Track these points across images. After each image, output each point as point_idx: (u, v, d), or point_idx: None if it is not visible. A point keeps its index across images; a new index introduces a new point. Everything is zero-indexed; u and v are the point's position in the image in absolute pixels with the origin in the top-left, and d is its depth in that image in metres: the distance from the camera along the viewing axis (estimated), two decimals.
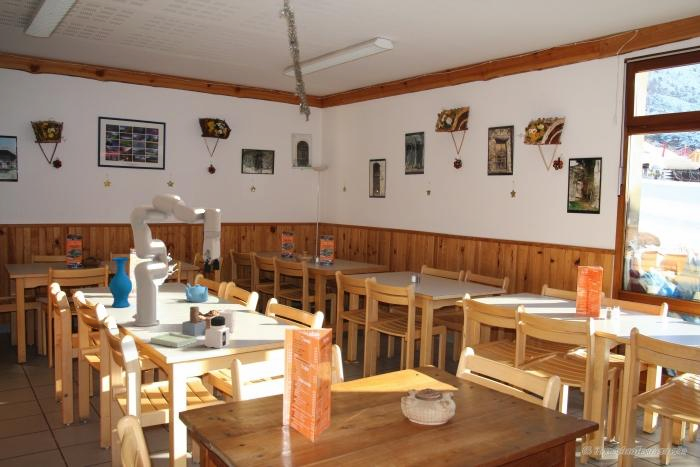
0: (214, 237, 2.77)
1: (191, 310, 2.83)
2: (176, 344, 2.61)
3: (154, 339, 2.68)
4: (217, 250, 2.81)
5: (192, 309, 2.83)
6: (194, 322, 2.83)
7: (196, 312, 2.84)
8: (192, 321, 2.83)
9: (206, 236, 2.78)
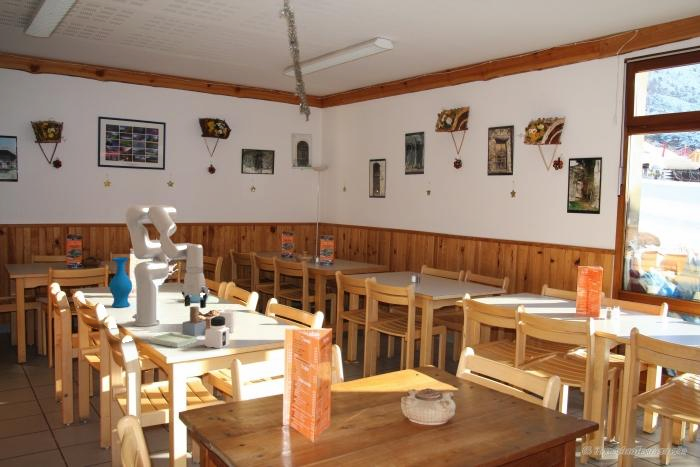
0: (202, 272, 2.84)
1: (191, 310, 2.83)
2: (176, 344, 2.61)
3: (154, 339, 2.68)
4: None
5: (192, 309, 2.83)
6: (194, 322, 2.83)
7: (196, 312, 2.84)
8: (192, 321, 2.83)
9: (198, 272, 2.81)
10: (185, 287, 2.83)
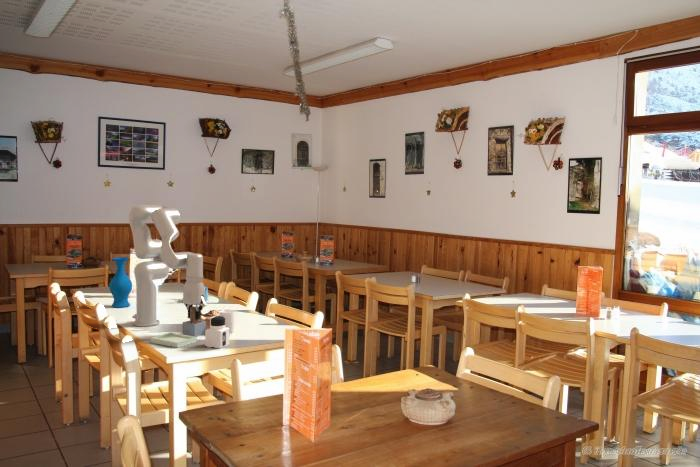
0: (202, 281, 2.85)
1: (191, 310, 2.83)
2: (176, 344, 2.61)
3: (154, 339, 2.68)
4: None
5: (192, 309, 2.83)
6: (194, 322, 2.83)
7: None
8: (192, 321, 2.83)
9: (198, 282, 2.81)
10: (185, 296, 2.84)
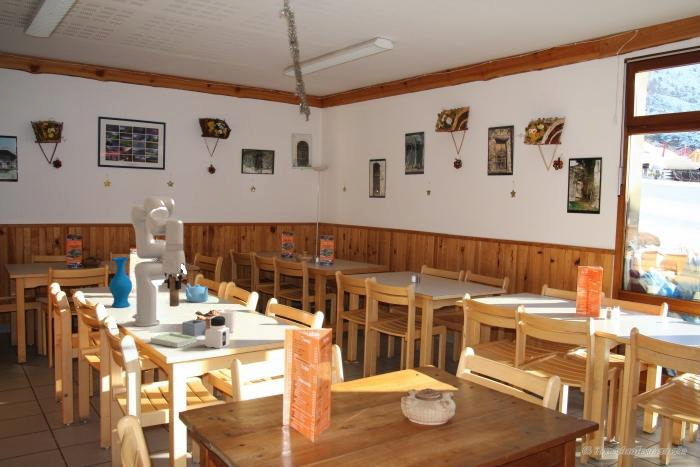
0: None
1: (171, 280, 2.67)
2: (176, 344, 2.61)
3: (154, 339, 2.68)
4: None
5: (172, 278, 2.67)
6: (174, 292, 2.67)
7: None
8: (172, 291, 2.67)
9: (177, 249, 2.65)
10: (164, 265, 2.67)
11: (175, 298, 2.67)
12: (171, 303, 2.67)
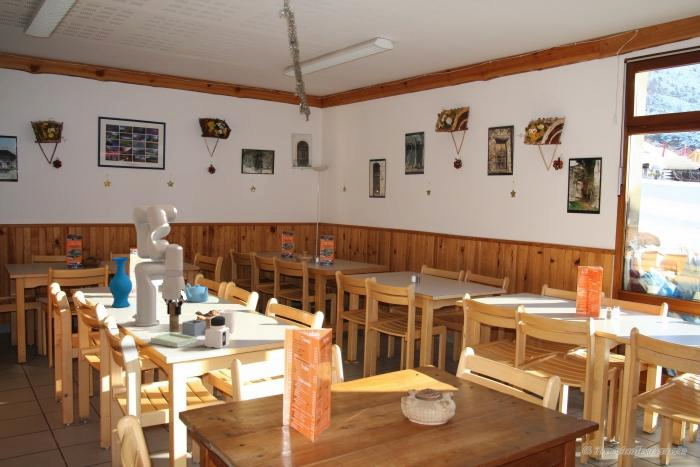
0: (182, 275, 2.69)
1: (170, 305, 2.67)
2: (176, 344, 2.61)
3: (154, 339, 2.68)
4: None
5: (172, 304, 2.67)
6: (174, 318, 2.68)
7: None
8: (172, 317, 2.67)
9: (177, 275, 2.65)
10: (164, 291, 2.68)
11: (175, 323, 2.68)
12: (171, 329, 2.68)
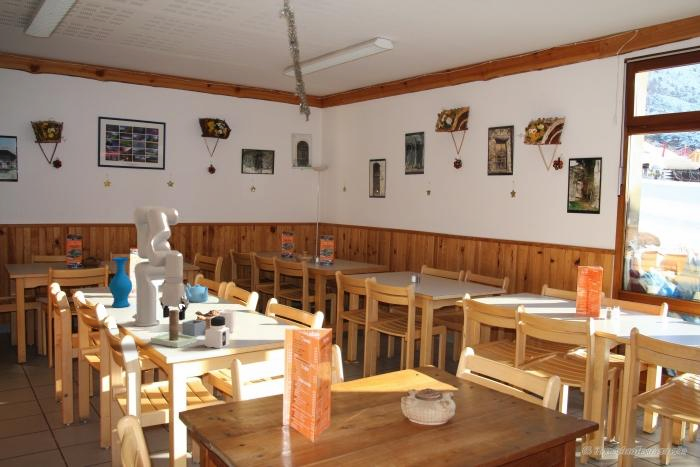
0: (182, 282, 2.69)
1: (170, 314, 2.68)
2: (176, 344, 2.61)
3: (154, 339, 2.68)
4: None
5: (171, 312, 2.68)
6: (173, 326, 2.68)
7: (176, 316, 2.68)
8: (171, 325, 2.68)
9: (177, 282, 2.66)
10: (163, 297, 2.68)
11: (175, 332, 2.68)
12: (171, 337, 2.68)
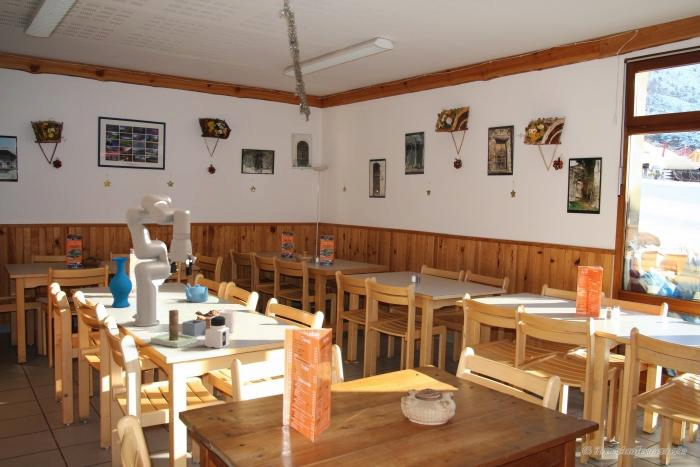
0: (189, 239, 2.76)
1: (170, 314, 2.68)
2: (176, 344, 2.61)
3: (154, 339, 2.68)
4: None
5: (171, 312, 2.68)
6: (173, 326, 2.68)
7: (175, 316, 2.68)
8: (171, 325, 2.68)
9: (184, 239, 2.72)
10: (171, 253, 2.75)
11: (175, 332, 2.68)
12: (171, 337, 2.68)
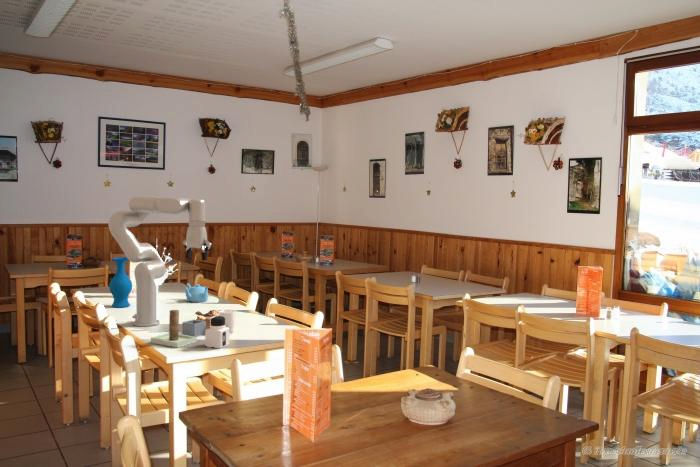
0: (204, 226, 2.94)
1: (171, 314, 2.68)
2: (176, 344, 2.61)
3: (154, 339, 2.68)
4: None
5: (172, 312, 2.67)
6: (174, 327, 2.68)
7: (176, 316, 2.68)
8: (172, 325, 2.68)
9: (200, 226, 2.91)
10: (187, 240, 2.93)
11: (175, 332, 2.68)
12: (171, 337, 2.68)
